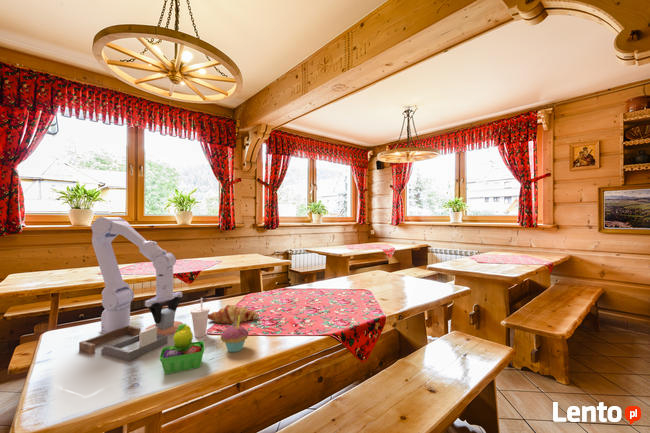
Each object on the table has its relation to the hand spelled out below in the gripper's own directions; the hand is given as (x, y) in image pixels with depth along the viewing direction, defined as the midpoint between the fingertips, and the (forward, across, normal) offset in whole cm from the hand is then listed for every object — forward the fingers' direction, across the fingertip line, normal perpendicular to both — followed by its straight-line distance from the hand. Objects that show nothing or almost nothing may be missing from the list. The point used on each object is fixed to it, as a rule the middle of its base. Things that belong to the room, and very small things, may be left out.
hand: (164, 320), depth 109 cm
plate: (+4, 0, 0) cm, 4 cm away
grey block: (+2, 0, 0) cm, 2 cm away
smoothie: (+4, +1, -17) cm, 18 cm away
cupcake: (+4, -3, -36) cm, 36 cm away
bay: (+4, -15, +7) cm, 17 cm away
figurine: (+4, +7, -28) cm, 29 cm away
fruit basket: (+4, -17, -29) cm, 34 cm away
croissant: (+4, +18, -18) cm, 26 cm away
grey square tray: (+4, -15, -6) cm, 16 cm away
